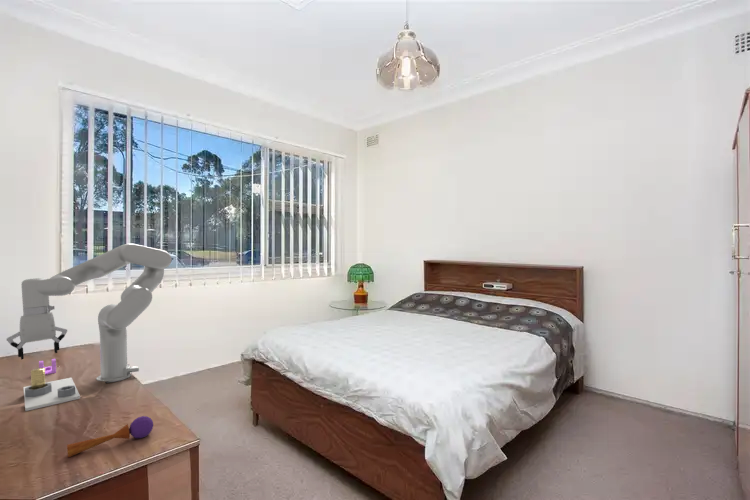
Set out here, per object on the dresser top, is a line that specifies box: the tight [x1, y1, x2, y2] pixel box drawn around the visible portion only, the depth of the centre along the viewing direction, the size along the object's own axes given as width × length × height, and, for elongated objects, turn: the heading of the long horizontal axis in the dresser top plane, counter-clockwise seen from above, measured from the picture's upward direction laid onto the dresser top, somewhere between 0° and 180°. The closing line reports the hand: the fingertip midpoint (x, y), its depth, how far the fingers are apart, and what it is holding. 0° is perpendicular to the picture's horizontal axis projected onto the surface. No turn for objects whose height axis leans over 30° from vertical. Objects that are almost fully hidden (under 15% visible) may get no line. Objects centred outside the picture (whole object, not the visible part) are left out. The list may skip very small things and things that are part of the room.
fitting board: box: [23, 377, 81, 412], centre depth 146 cm, size 15×28×4 cm, turn 44°
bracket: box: [38, 358, 57, 375], centre depth 171 cm, size 13×6×7 cm, turn 40°
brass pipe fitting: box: [30, 367, 46, 389], centre depth 144 cm, size 4×4×9 cm
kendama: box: [66, 415, 154, 458], centre depth 108 cm, size 6×6×20 cm
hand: (39, 355), depth 144 cm, fingers open, 9 cm apart
